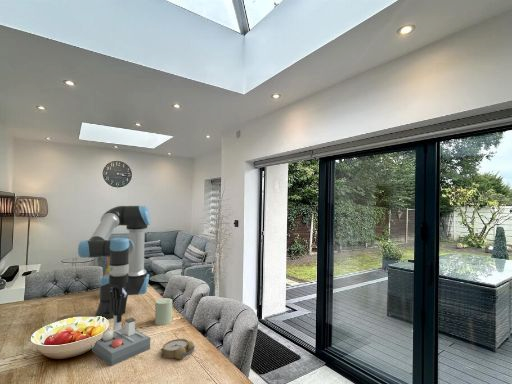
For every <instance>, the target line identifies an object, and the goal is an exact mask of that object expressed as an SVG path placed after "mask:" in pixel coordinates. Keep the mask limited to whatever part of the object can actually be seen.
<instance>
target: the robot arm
mask: <svg viewBox="0 0 512 384" xmlns="http://www.w3.org/2000/svg"><path fill="white" fill-rule="evenodd" d="M99 222H100V223H99V224H98V226H97V227H96V228H95V231H94V232H93V234H92V235H91V237H90V238H89V240H81V241H80V242H79V243H78V247H77V254H78V256H79V257H81V258H105V257H110V268H109V275H106V276H104V275H103V276H102V277H101V279H100V285H99V303H98V306H97V310H96V311H95V317H96V316H102V317H105V318H107V319H106V320H110V319H113V329H112V330H113V331H117V330H119V329H122V322H123V321H122V319H123V318H122V317H123V315H124V314H125V313H126V308H127V301H128V297H129V296H134V295H135V296H137V295H143V294H144V295H145V294H146V293H147V290H148V285H149V280H150V274H148V273H147V270H146V269H145V231H146V230H147V229H148V226H150V225H151V216H150V211H149V207H147V206H145V205H118V206H115V207H112V208H111V209H109V210H106V211H105V212H104V213H103V215H102V216H101V217H100V221H99ZM119 226H126V227H125V228H126V230H127V231H128V238H127V237H115V238H111V239H109V238H110V237H111V235H112V233H113V232H114V229H116V228H117V227H119Z"/></svg>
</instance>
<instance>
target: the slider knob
mask: <svg viewBox="0 0 512 384" xmlns="http://www.w3.org/2000/svg"><path fill="white" fill-rule="evenodd" d="M124 322H125V325H124V328H125V335H127V336H131V335H133V334H135V330H136V319H135V318H134V317H129V318H127V319H125V320H124Z"/></svg>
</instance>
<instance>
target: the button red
mask: <svg viewBox="0 0 512 384" xmlns="http://www.w3.org/2000/svg"><path fill="white" fill-rule="evenodd" d="M121 345H122V339H115V340H113V341H112V344H111V347H112V348H116V347H119V346H121Z"/></svg>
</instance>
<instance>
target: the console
mask: <svg viewBox="0 0 512 384" xmlns="http://www.w3.org/2000/svg"><path fill="white" fill-rule="evenodd" d="M115 339H122V345H121V346H119V347H116V348H112V347H111V344H112V341H113V340H115ZM113 340H111V341H108V342H103V337H102V338H101V339H100V340H98V341H96V343H95V345H94V347H93V348H92V347H91V349H92V350H91V351H92V353H94V354H95V355H96V356H98V357H99V358H100V359H101V360H103V361H104V362H106V363H107V364H108V365H110V366H115V365H118V364H119V363H122V362H123V361H126V360H128V359H131V358H132V357H135V356H137V355H139V354H142V353H144V352H146V351H149V350H150V349H151V337H150V336H148V335H147V334H144V333H143V332H141V331H139V330H138V329H135V334H133V335H131V336H127V335H125V327H123V328H122V327H121V329H119V330H116V331H115V330H113Z"/></svg>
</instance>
